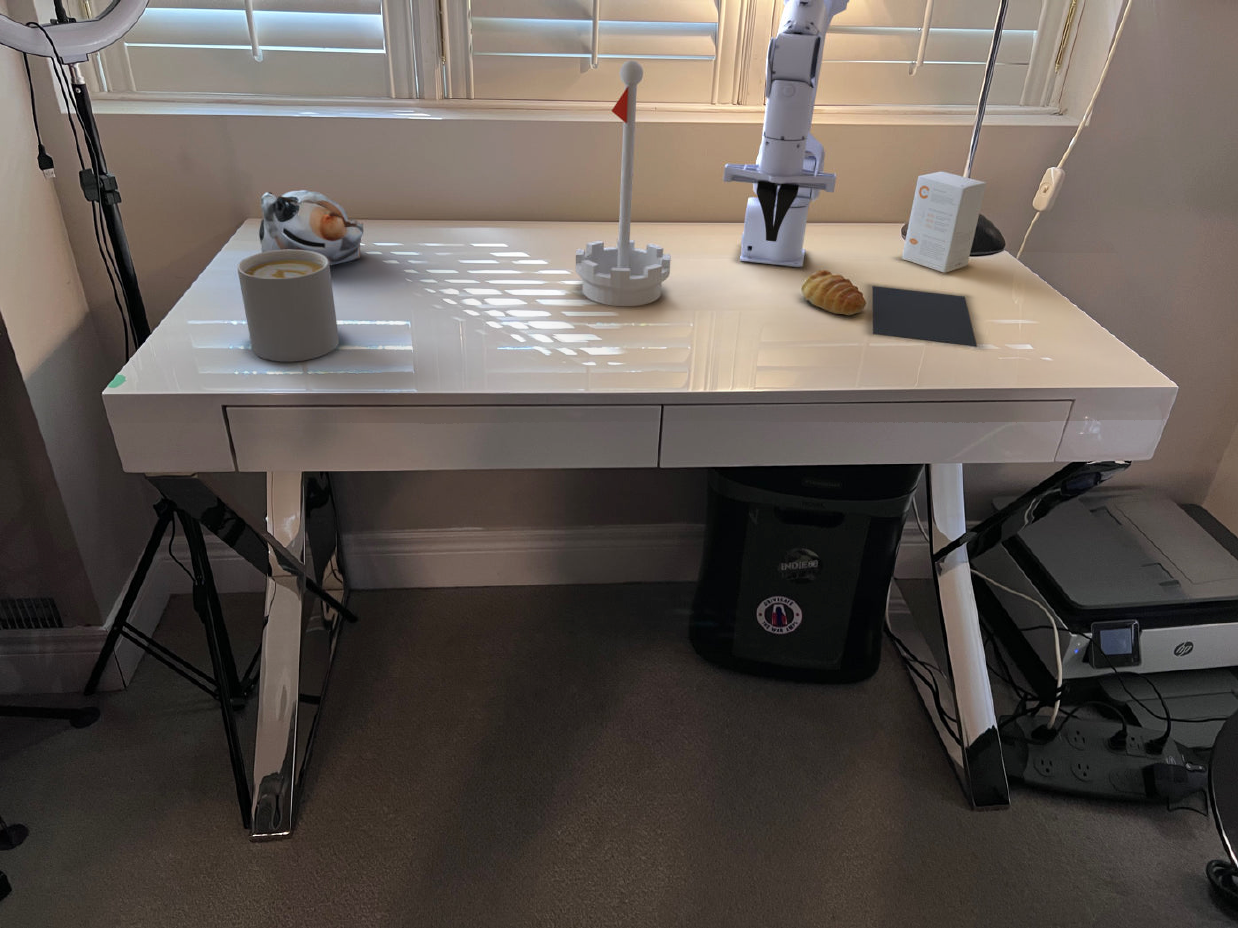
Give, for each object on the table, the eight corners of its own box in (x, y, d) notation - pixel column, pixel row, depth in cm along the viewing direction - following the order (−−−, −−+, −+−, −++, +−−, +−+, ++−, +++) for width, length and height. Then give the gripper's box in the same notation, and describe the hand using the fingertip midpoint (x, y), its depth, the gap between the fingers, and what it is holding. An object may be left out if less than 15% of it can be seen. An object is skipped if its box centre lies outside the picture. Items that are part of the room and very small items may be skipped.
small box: (967, 266, 146) (988, 182, 139) (944, 274, 142) (964, 188, 136) (923, 251, 151) (941, 170, 144) (900, 259, 148) (917, 175, 141)
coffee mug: (336, 359, 109) (326, 277, 103) (246, 364, 107) (230, 280, 102) (342, 315, 120) (333, 239, 115) (261, 318, 118) (247, 241, 113)
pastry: (876, 313, 128) (881, 286, 126) (839, 322, 125) (844, 295, 123) (829, 290, 134) (834, 264, 132) (793, 298, 131) (797, 272, 129)
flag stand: (601, 269, 138) (608, 49, 123) (682, 286, 134) (700, 60, 118) (558, 296, 128) (559, 61, 112) (644, 316, 124) (658, 73, 108)
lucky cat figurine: (374, 249, 141) (381, 179, 130) (347, 305, 134) (352, 237, 123) (276, 216, 139) (274, 142, 128) (243, 271, 132) (238, 198, 121)
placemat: (872, 334, 122) (873, 333, 122) (872, 287, 137) (872, 285, 137) (976, 347, 120) (976, 346, 119) (964, 297, 135) (964, 296, 134)
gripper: (724, 137, 118) (714, 242, 125) (841, 148, 116) (824, 254, 123) (731, 126, 124) (721, 226, 131) (842, 136, 122) (826, 238, 129)
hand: (771, 239), depth 127 cm, fingers closed
